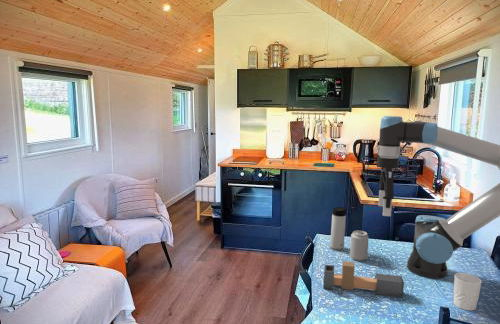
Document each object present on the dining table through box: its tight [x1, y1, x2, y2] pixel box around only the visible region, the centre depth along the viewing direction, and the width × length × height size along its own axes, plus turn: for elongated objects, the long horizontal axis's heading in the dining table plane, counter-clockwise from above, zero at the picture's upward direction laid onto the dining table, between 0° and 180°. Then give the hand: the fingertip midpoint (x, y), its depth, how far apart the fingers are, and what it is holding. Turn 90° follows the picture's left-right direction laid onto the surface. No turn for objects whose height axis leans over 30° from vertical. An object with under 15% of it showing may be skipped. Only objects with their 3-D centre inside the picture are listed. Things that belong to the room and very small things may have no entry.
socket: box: [323, 264, 335, 291], centre depth 134 cm, size 4×6×7 cm, turn 167°
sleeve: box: [374, 272, 405, 299], centre depth 130 cm, size 9×5×6 cm, turn 77°
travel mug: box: [329, 206, 348, 252], centre depth 169 cm, size 6×7×20 cm
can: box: [349, 230, 370, 262], centre depth 159 cm, size 8×8×12 cm
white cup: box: [453, 272, 482, 311], centre depth 122 cm, size 8×8×10 cm
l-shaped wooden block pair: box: [333, 260, 377, 291], centre depth 132 cm, size 18×4×9 cm, turn 77°
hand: (384, 210), depth 140 cm, fingers open, 13 cm apart
